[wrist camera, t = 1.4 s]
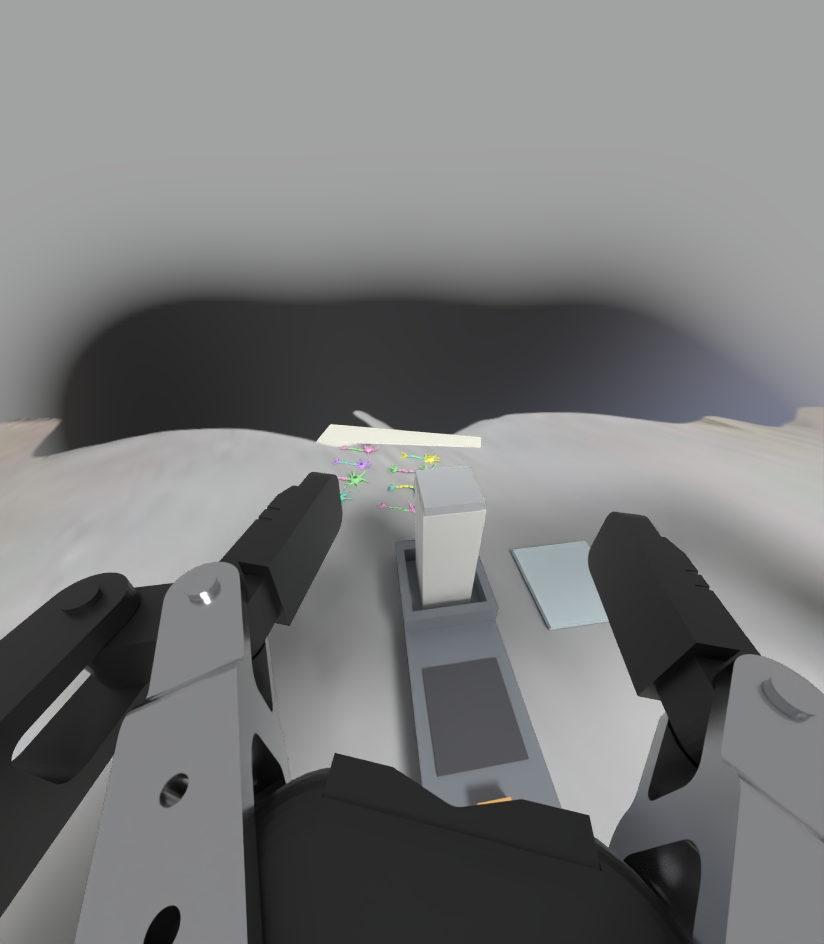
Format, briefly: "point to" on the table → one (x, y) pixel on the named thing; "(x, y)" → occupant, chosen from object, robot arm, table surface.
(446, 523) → the block
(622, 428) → the table surface
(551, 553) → the mat
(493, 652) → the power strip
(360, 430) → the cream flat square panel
